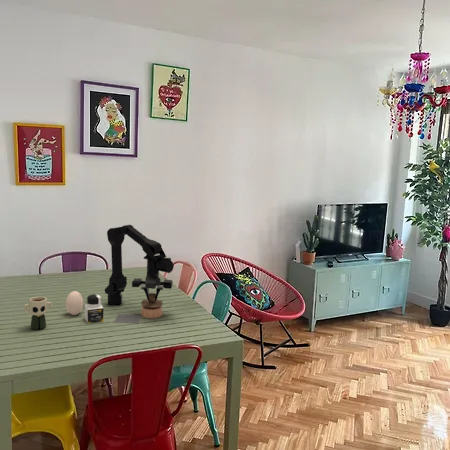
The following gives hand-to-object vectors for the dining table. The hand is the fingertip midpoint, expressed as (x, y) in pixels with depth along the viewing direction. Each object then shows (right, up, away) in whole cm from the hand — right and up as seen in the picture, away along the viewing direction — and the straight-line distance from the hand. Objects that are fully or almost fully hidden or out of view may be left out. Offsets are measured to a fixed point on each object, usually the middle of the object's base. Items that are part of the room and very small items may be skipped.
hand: (152, 300), depth 218 cm
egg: (-36, -6, -3) cm, 37 cm away
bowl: (0, -7, +1) cm, 7 cm away
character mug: (-46, -9, -21) cm, 51 cm away
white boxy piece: (-25, -8, -9) cm, 28 cm away
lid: (0, -2, 0) cm, 2 cm away
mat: (-10, -8, -6) cm, 14 cm away
